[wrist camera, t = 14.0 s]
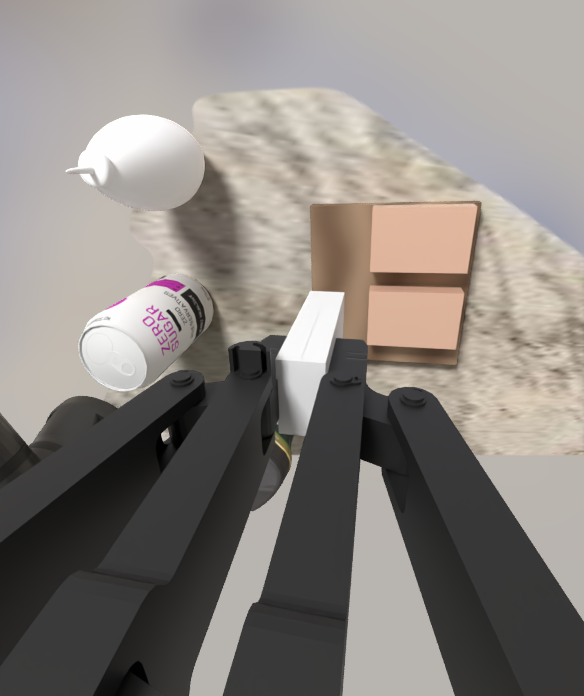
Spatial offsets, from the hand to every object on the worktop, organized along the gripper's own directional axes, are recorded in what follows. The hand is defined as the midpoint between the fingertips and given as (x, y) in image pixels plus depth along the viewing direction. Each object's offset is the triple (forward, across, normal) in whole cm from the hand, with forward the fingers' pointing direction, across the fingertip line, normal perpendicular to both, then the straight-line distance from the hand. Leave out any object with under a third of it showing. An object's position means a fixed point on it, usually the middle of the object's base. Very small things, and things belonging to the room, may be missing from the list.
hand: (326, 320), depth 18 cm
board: (+27, -3, +6) cm, 28 cm away
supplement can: (+27, +21, +10) cm, 36 cm away
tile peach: (+24, -2, +1) cm, 24 cm away
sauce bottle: (+27, +18, -6) cm, 33 cm away
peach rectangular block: (+24, -2, +9) cm, 26 cm away
